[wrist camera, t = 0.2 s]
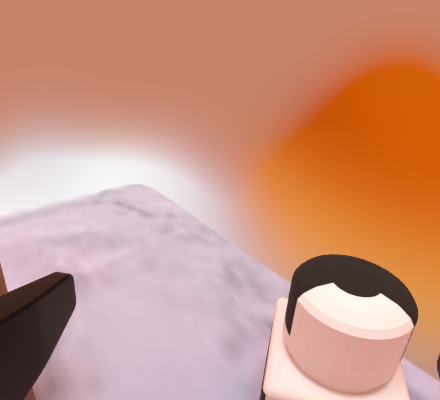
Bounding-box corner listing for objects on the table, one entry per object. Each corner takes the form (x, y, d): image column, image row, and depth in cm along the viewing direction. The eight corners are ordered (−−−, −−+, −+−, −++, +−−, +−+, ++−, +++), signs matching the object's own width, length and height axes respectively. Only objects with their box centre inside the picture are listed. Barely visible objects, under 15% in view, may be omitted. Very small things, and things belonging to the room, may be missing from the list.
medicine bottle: (264, 367, 27) (288, 231, 22) (364, 393, 26) (416, 253, 20) (248, 471, 21) (276, 314, 15) (378, 511, 19) (459, 355, 14)
